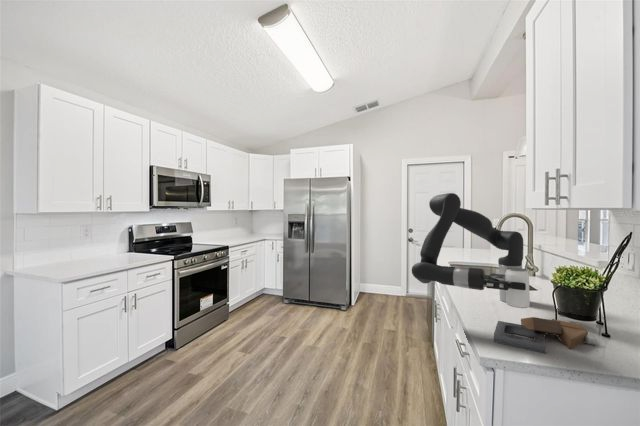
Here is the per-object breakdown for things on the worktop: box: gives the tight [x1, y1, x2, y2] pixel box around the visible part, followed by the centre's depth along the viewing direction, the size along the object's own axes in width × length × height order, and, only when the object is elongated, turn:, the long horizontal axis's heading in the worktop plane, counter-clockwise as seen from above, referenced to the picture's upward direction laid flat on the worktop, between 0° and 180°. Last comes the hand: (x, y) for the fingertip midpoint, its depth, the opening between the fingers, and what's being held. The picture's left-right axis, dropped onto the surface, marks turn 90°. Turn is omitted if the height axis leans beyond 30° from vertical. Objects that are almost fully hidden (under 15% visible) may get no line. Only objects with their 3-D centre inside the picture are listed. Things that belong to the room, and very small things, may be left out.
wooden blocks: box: [520, 316, 598, 350], centre depth 88 cm, size 8×13×18 cm
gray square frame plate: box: [493, 320, 547, 354], centre depth 90 cm, size 14×13×2 cm
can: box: [505, 267, 531, 309], centre depth 90 cm, size 6×6×12 cm
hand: (525, 284), depth 89 cm, fingers closed on can, 6 cm apart
